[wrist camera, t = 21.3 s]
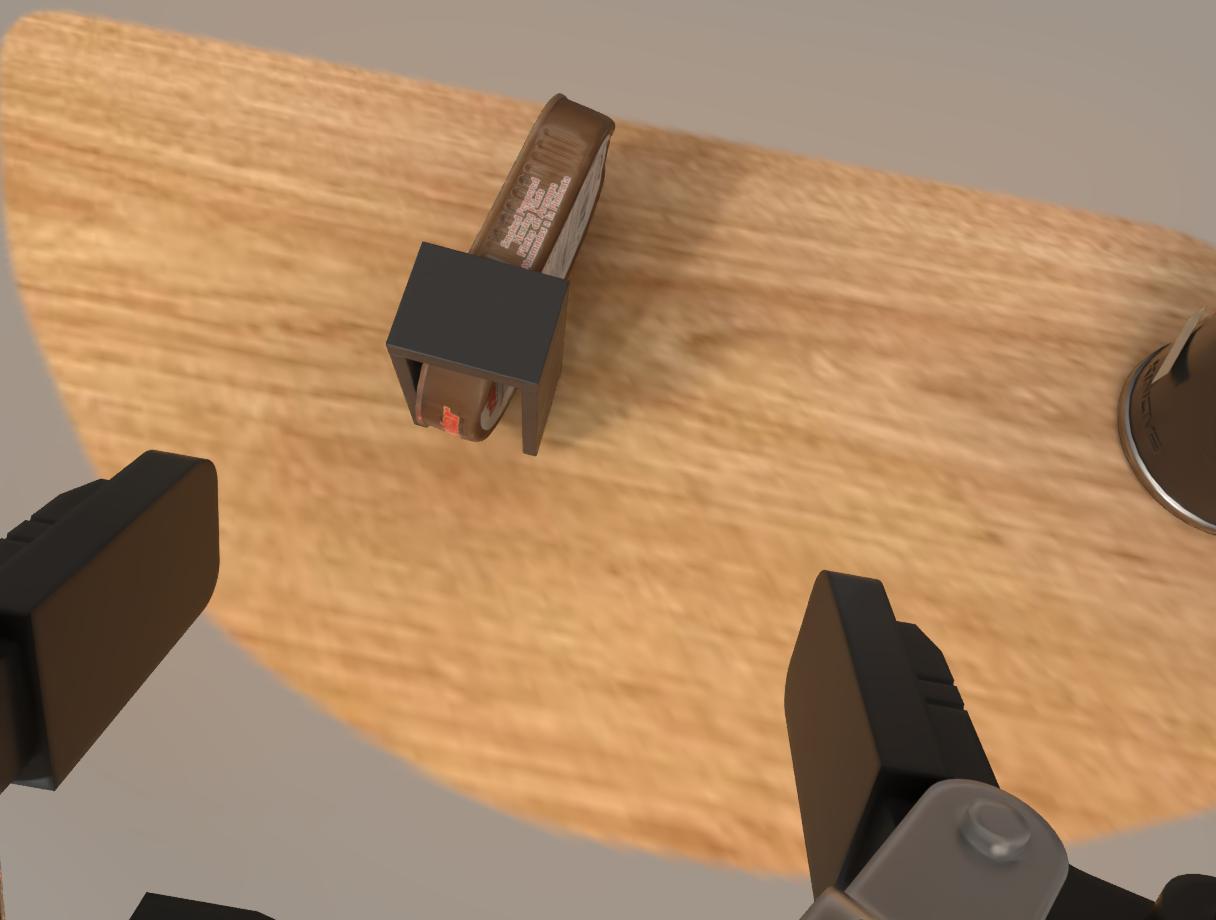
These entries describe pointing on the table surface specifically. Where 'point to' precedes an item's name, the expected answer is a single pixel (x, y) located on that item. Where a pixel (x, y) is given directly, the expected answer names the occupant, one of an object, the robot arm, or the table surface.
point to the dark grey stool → (482, 329)
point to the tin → (526, 245)
